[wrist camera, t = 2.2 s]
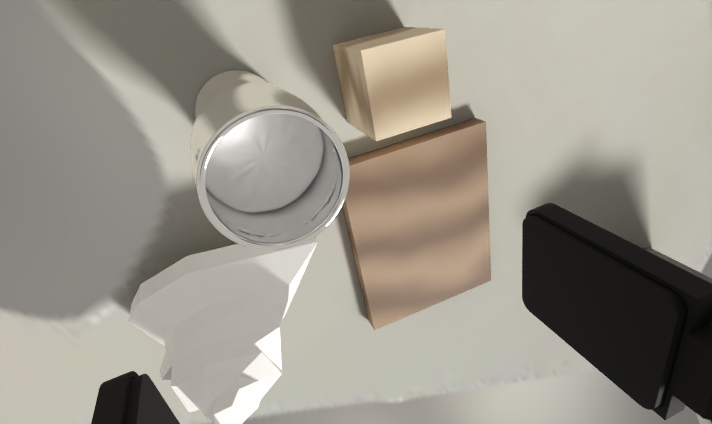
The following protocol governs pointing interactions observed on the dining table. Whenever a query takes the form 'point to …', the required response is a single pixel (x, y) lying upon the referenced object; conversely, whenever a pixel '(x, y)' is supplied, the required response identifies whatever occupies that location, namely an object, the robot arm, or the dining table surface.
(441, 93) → the beech block
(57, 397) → the dining table surface
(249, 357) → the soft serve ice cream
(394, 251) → the serving board
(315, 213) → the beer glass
